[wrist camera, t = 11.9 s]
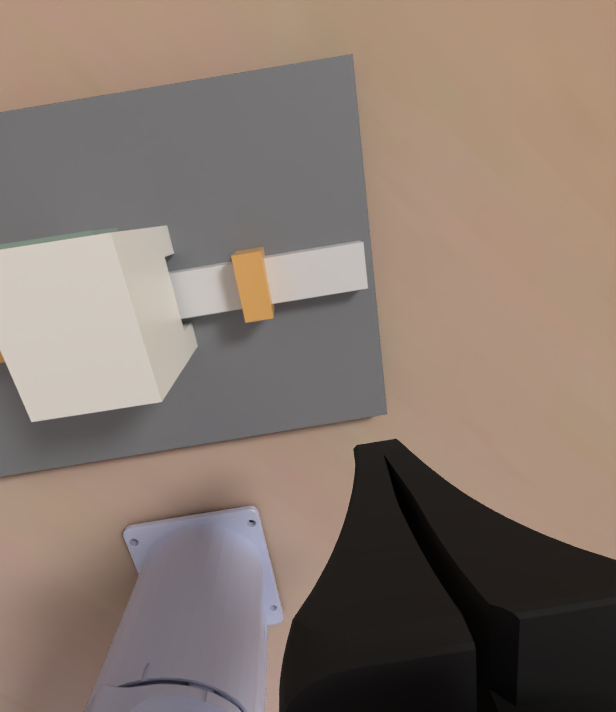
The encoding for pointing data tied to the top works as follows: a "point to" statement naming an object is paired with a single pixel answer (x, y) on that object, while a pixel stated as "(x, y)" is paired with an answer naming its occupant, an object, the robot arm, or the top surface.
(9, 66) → the top surface
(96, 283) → the block
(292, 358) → the mounting board
